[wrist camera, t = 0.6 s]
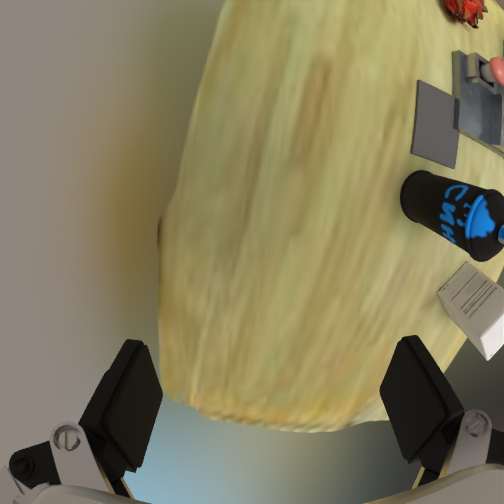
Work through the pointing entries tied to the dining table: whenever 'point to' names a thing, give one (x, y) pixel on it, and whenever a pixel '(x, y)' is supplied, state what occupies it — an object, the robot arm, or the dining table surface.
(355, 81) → the dining table surface
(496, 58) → the plunger
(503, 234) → the aerosol can
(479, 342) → the supplement box
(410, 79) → the dining table surface
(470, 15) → the dragon fruit
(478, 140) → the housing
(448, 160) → the mat
